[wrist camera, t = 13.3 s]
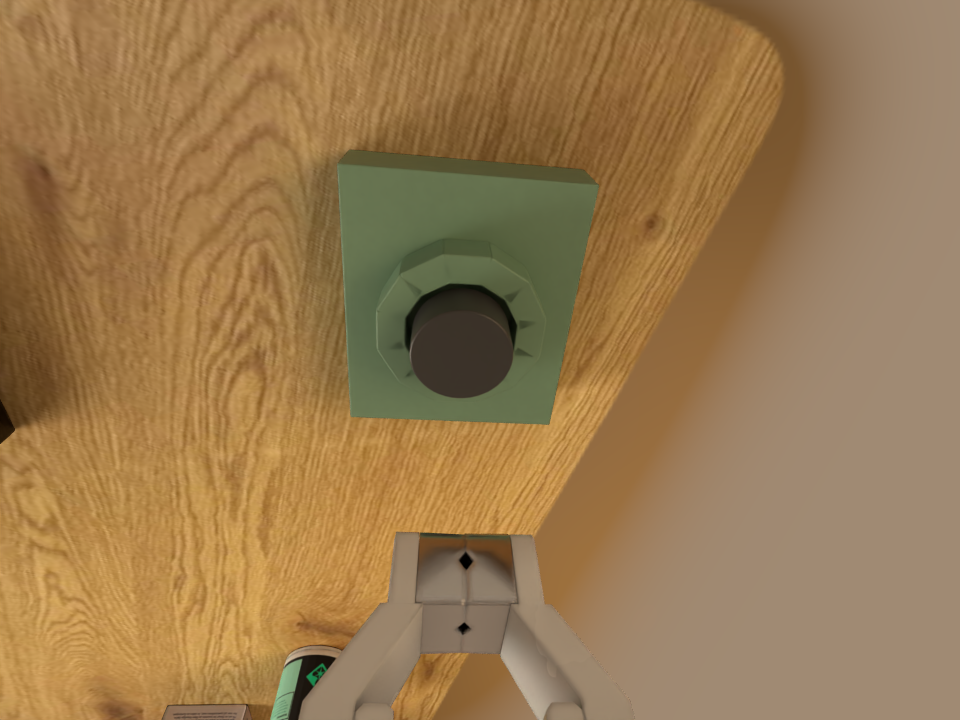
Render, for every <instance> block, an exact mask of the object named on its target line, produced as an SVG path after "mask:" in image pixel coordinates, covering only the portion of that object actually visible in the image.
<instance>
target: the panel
mask: <svg viewBox="0 0 960 720" xmlns="http://www.w3.org/2000/svg"><path fill="white" fill-rule="evenodd" d="M14 431H15V428H14V426H13V424H12V422H11V420H10V418H9V416H8V414H7V412H6V410H5V408H4V406H3V404H2V402H1V400H0V444H1V443H2V442H3V441H4V440H5V439H6V438H7V437H9V436H10V435H11V434H12V433H13V432H14Z"/></svg>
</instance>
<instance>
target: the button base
mask: <svg viewBox="0 0 960 720" xmlns="http://www.w3.org/2000/svg"><path fill="white" fill-rule="evenodd" d="M337 171H338V189H339V208H340V227H341V246H342V265H343V283H344V302H345V321H346V340H347V358H348V377H349V396H350V415H351V417H367V418H393V419H418V420H444V421H469V422H494V423H520V424H545V425H549V424H550V419H551V414H552V409H553V404H554V400H555V395H556V390H557V385H558V380H559V376H560V371H561V366H562V361H563V356H564V352H565V347H566V342H567V337H568V332H569V328H570V323H571V318H572V313H573V308H574V304H575V299H576V294H577V289H578V284H579V280H580V275H581V270H582V265H583V260H584V256H585V251H586V246H587V241H588V236H589V232H590V227H591V222H592V217H593V212H594V208H595V203H596V198H597V193H598V188H599V185H598V184H597V183H596V182H595V181H594V180H593V179H592V178H591V177H590V176H589V175H588V174H587V173H586V171H585V170H582V169H571V168H559V167H547V166H536V165H524V164H512V163H500V162H489V161H477V160H465V159H454V158H442V157H430V156H418V155H407V154H395V153H383V152H372V151H360V150H349V151H348V152H347V153H346V154H345V155H344V157H343V158H342V159H341V160H340V161H339V162H338V164H337ZM456 288H466V289H473V290H477V291H479V292H482V293H484V294H486V295H488V296H490V297H491V298H492V299H494V300H495V301H496V302H497V303H498V304H499V305H500V307H501V308H502V309H503V311H504V313H505V315H506V317H507V321H508V325H509V330H510V335H511V340H512V345H513V361H512V365H511V368H510V370H509V372H508V374H507V375H506V377H505V378H504V379H503V381H502V382H501V383H500V384H499V385H497V386H496V387H495V388H494V389H492V390H490V391H489V392H487V393H484V394H482V395H479V396H476V397H471V398H451V397H446V396H443V395H440V394H437V393H435V392H433V391H432V390H430V389H428V388H427V387H426V386H425V385H423V384H422V383H421V382H420V380H419V379H418V378H417V376H416V375H415V373H414V371H413V369H412V367H411V363H410V356H409V352H410V343H411V335H412V327H413V322H414V318H415V316H416V313H417V312H418V310H419V308H420V307H421V306H422V305H423V304H424V303H425V302H426V301H427V300H428V299H429V298H431V297H432V296H434V295H436V294H438V293H440V292H442V291H445V290H449V289H456Z"/></svg>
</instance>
